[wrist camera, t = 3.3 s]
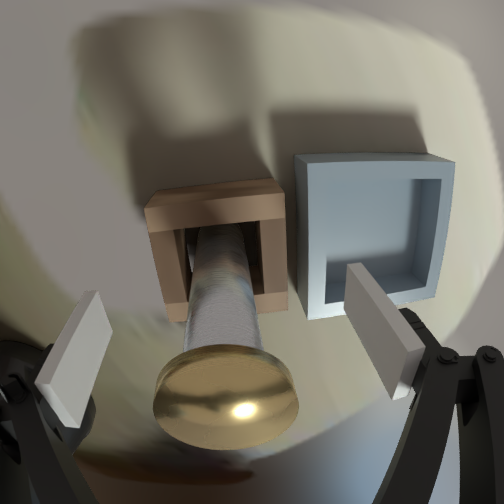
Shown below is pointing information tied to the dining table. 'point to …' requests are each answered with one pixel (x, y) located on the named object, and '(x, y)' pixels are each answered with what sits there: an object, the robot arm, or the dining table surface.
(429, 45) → the dining table surface
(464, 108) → the dining table surface
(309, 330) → the dining table surface
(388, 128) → the dining table surface
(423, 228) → the tray
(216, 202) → the block
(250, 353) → the pin
